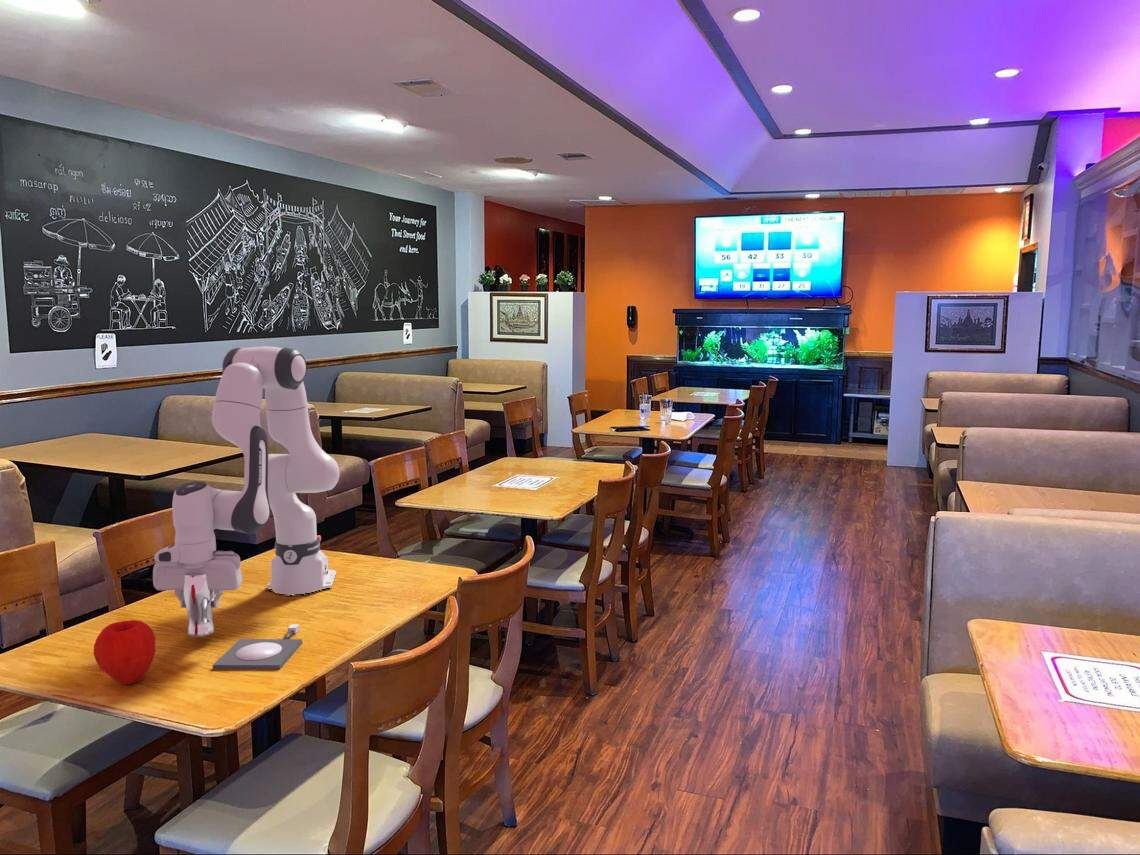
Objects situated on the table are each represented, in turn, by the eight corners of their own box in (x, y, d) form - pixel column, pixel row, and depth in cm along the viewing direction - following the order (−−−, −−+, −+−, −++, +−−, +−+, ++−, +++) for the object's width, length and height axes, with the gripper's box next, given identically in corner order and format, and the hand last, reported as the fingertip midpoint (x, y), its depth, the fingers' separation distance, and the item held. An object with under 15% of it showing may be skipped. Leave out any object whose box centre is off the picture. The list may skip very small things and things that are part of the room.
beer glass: (183, 638, 200) (179, 576, 198) (187, 628, 207) (184, 568, 205) (214, 635, 202) (211, 574, 200) (218, 625, 208) (215, 566, 207)
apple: (83, 691, 178) (78, 630, 176) (122, 668, 190) (118, 611, 188) (134, 696, 176) (129, 634, 174) (170, 672, 188) (166, 614, 186)
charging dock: (253, 630, 212) (253, 624, 212) (313, 630, 212) (313, 624, 211) (212, 669, 189) (212, 662, 189) (279, 669, 189) (279, 662, 188)
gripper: (244, 547, 204) (248, 602, 206) (160, 547, 205) (165, 602, 207) (233, 555, 198) (237, 611, 200) (147, 555, 199) (152, 611, 201)
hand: (200, 606), depth 204 cm, fingers closed on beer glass, 6 cm apart
